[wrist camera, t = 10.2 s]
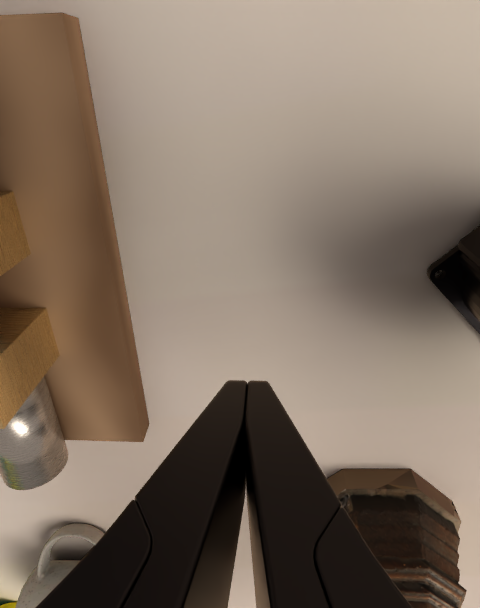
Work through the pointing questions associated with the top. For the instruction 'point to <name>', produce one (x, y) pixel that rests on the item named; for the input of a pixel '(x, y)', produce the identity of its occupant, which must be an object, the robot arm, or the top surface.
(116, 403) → the walnut board
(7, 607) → the teal lumpy block
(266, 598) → the robot arm
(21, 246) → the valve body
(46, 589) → the ceramic mug
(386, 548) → the bird statue
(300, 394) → the top surface
